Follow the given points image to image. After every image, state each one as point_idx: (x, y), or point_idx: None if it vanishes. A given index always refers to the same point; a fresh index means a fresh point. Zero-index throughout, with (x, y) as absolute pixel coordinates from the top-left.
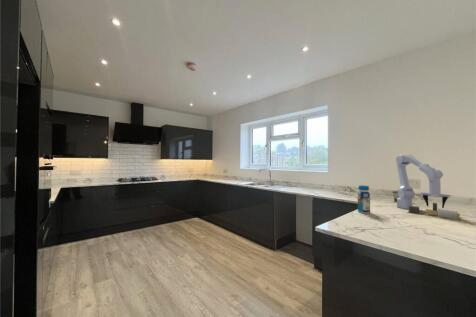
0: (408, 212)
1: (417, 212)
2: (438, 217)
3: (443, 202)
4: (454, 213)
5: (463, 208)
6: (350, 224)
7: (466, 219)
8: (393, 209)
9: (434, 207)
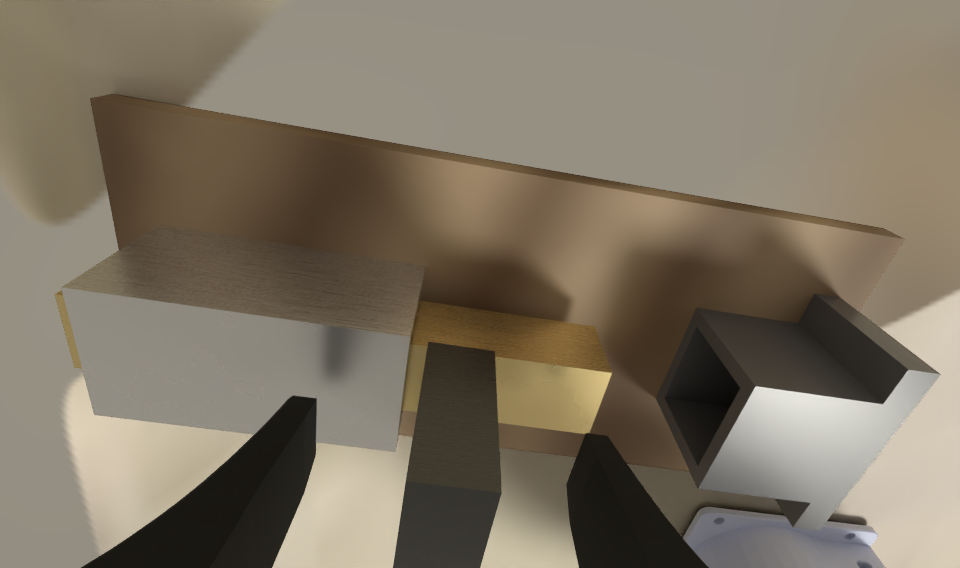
0: (849, 300)
1: (718, 320)
2: (423, 173)
3: (208, 517)
4: (131, 276)
5: None
6: None
7: None
8: (942, 476)
9: (465, 397)
